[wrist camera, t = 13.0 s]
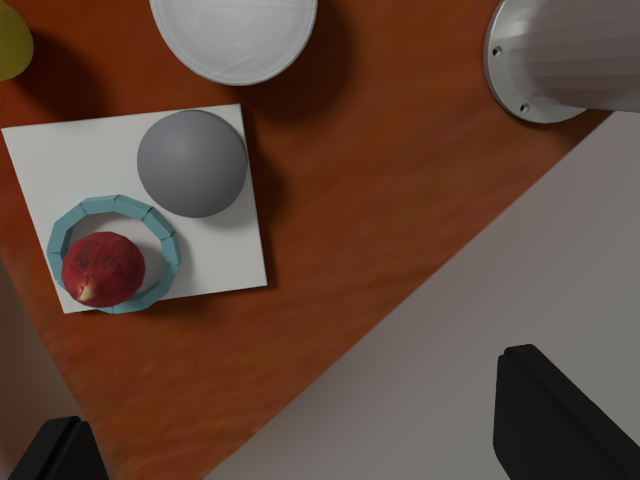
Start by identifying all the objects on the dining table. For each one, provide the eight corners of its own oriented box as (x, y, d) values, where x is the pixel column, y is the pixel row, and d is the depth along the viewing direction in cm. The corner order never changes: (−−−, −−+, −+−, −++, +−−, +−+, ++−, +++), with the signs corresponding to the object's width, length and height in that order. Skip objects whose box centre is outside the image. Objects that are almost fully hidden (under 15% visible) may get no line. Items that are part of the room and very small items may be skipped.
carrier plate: (240, 103, 36) (237, 106, 32) (266, 278, 42) (267, 300, 37) (11, 127, 34) (-23, 133, 30) (71, 305, 40) (48, 331, 36)
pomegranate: (76, 222, 36) (27, 259, 29) (148, 217, 37) (118, 251, 29) (92, 285, 38) (50, 335, 31) (160, 279, 39) (135, 327, 31)
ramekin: (275, -105, 32) (277, -139, 27) (332, 51, 36) (343, 46, 31) (135, -41, 32) (111, -64, 27) (207, 106, 36) (198, 110, 31)
